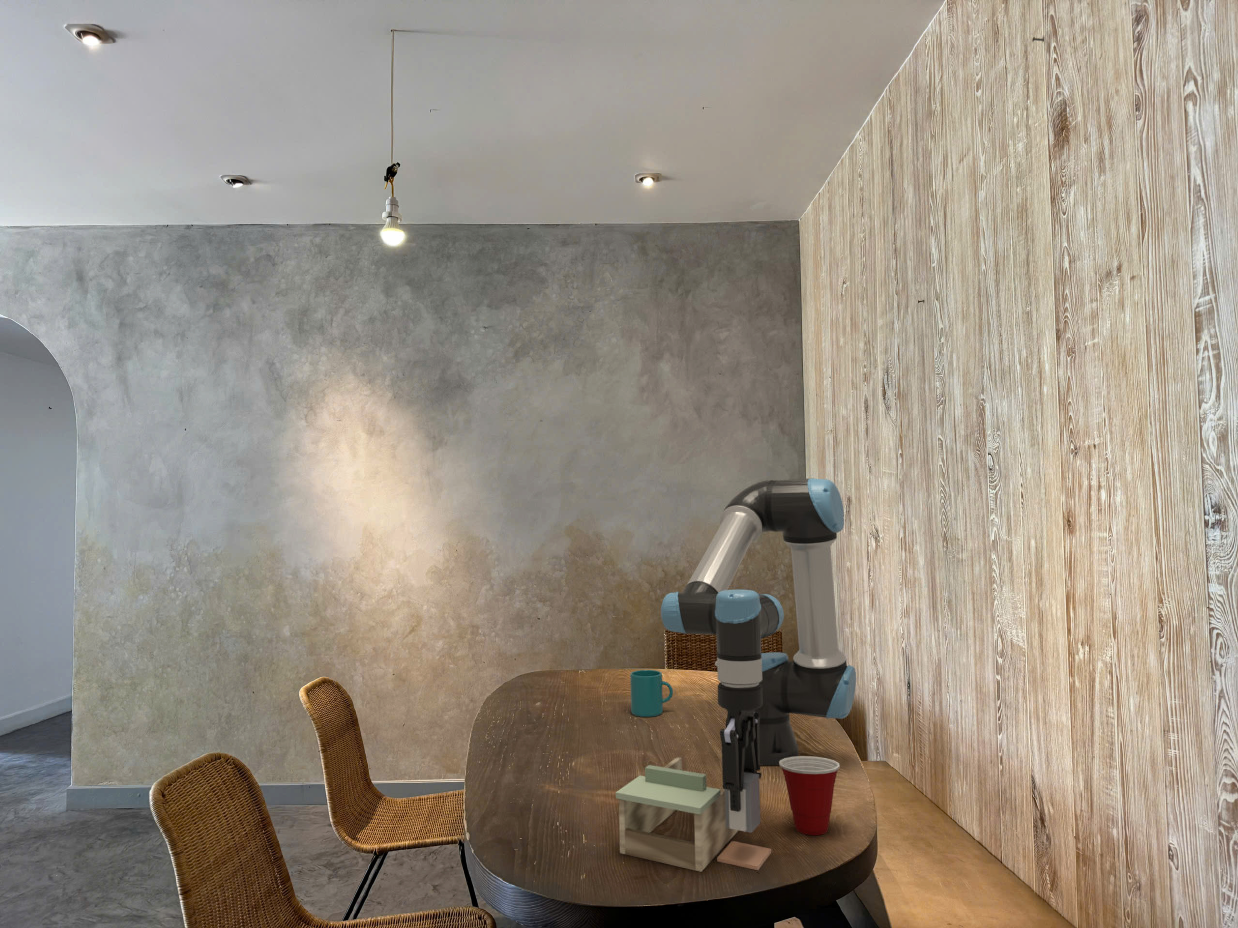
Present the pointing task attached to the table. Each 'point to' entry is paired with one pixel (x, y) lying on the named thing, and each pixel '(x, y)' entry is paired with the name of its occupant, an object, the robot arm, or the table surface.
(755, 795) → the slate block
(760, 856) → the terracotta coaster
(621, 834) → the wooden box
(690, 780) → the cover
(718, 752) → the table surface
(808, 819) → the plastic cup
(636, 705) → the cup
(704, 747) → the table surface
